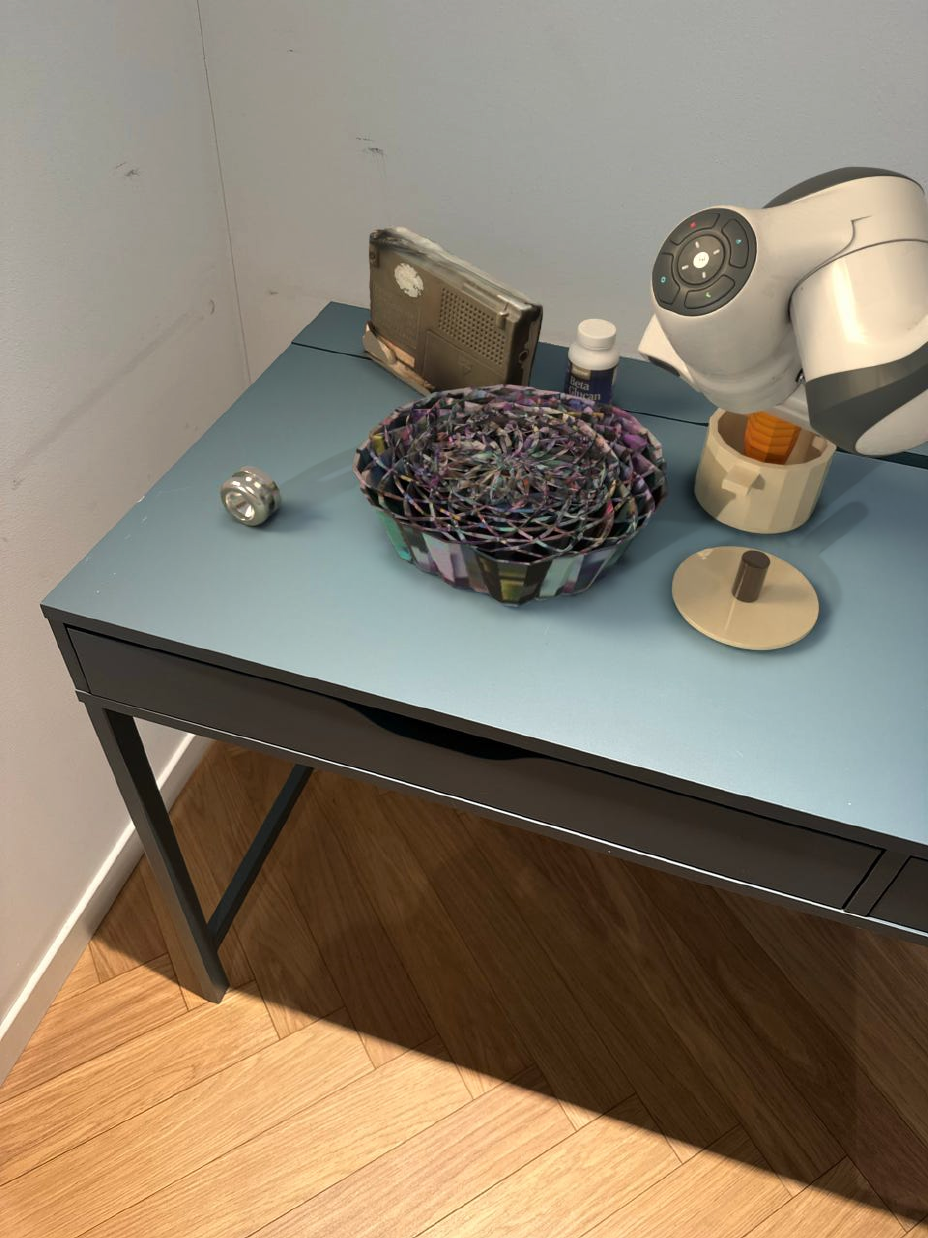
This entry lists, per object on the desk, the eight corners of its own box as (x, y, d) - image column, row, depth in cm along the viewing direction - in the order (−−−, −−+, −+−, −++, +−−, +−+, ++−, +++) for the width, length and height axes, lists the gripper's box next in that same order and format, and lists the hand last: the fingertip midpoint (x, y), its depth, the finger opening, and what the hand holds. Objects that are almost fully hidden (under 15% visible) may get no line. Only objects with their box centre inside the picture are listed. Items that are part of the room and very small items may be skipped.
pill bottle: (559, 419, 104) (568, 337, 97) (564, 393, 108) (573, 312, 101) (609, 425, 104) (622, 343, 97) (612, 398, 107) (624, 317, 100)
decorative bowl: (616, 676, 81) (644, 592, 73) (311, 586, 84) (308, 498, 77) (663, 496, 98) (689, 414, 91) (407, 428, 102) (413, 344, 94)
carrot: (782, 483, 96) (826, 348, 85) (776, 512, 93) (821, 375, 82) (732, 472, 97) (769, 337, 87) (725, 501, 94) (762, 364, 83)
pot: (837, 474, 98) (861, 411, 93) (778, 565, 88) (800, 501, 83) (731, 436, 103) (747, 374, 97) (663, 519, 93) (677, 454, 87)
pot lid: (835, 590, 86) (852, 547, 82) (785, 677, 79) (802, 634, 75) (704, 537, 91) (715, 494, 87) (646, 615, 83) (656, 571, 80)
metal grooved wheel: (283, 517, 91) (277, 474, 88) (266, 535, 89) (259, 492, 86) (240, 501, 93) (232, 459, 89) (221, 519, 91) (213, 476, 87)
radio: (546, 420, 104) (559, 290, 93) (484, 448, 100) (490, 315, 89) (419, 333, 116) (417, 209, 106) (359, 354, 113) (351, 228, 102)
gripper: (897, 363, 70) (904, 421, 82) (657, 274, 79) (696, 339, 91) (851, 440, 70) (866, 487, 83) (620, 344, 80) (663, 399, 92)
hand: (775, 409), depth 87 cm, fingers open, 8 cm apart
